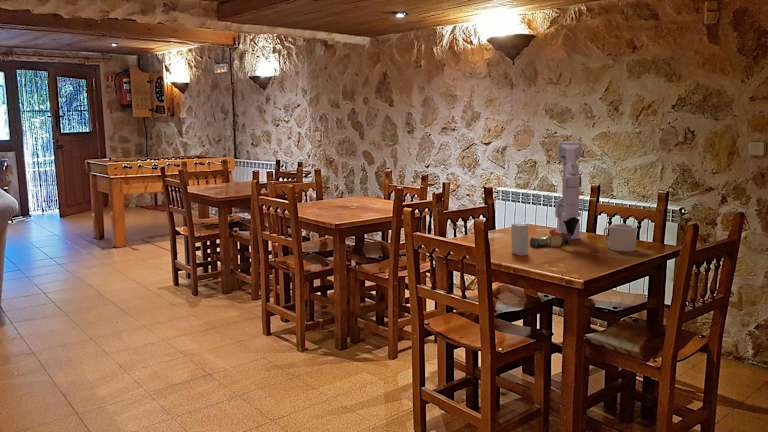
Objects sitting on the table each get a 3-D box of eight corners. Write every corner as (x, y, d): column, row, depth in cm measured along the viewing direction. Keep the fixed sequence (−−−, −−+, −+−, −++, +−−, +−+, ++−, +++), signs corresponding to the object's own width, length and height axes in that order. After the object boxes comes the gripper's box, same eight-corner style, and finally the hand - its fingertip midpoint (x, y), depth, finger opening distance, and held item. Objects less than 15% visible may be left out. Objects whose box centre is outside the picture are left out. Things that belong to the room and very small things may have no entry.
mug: (639, 249, 257) (641, 225, 255) (629, 253, 249) (631, 229, 248) (608, 244, 266) (609, 222, 264) (597, 248, 258) (598, 225, 257)
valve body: (555, 244, 269) (555, 233, 268) (562, 246, 264) (562, 235, 264) (541, 245, 266) (542, 234, 266) (549, 247, 262) (549, 236, 261)
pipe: (563, 243, 271) (564, 233, 270) (570, 245, 266) (571, 235, 265) (529, 247, 264) (529, 236, 263) (536, 249, 260) (536, 238, 259)
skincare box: (528, 254, 247) (529, 225, 245) (519, 256, 245) (520, 226, 243) (519, 251, 252) (520, 223, 250) (510, 252, 250) (511, 223, 249)
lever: (547, 233, 265) (548, 229, 265) (553, 233, 266) (553, 228, 266) (566, 238, 254) (566, 234, 254) (571, 238, 255) (572, 233, 255)
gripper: (570, 201, 265) (569, 231, 267) (555, 204, 254) (553, 236, 256) (586, 202, 260) (584, 233, 262) (571, 206, 249) (569, 238, 252)
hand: (570, 235), depth 259 cm, fingers closed
